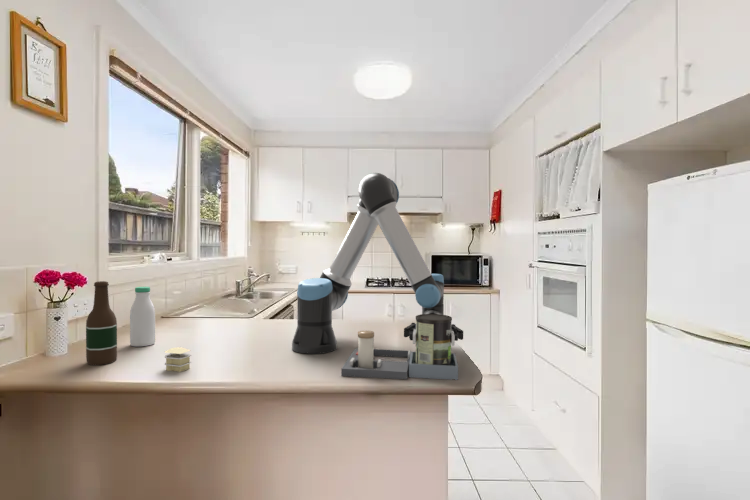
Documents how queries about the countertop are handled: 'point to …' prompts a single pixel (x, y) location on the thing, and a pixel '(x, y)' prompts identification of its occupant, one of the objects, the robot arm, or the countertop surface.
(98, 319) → the beer bottle
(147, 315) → the milk bottle
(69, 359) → the countertop surface
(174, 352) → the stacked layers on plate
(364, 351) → the spice jar
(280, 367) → the countertop surface
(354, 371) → the grey holder base
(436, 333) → the coffee can
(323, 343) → the robot arm
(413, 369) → the tray
